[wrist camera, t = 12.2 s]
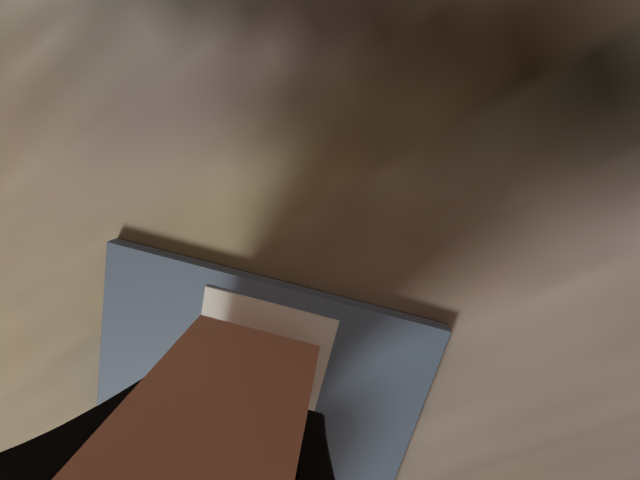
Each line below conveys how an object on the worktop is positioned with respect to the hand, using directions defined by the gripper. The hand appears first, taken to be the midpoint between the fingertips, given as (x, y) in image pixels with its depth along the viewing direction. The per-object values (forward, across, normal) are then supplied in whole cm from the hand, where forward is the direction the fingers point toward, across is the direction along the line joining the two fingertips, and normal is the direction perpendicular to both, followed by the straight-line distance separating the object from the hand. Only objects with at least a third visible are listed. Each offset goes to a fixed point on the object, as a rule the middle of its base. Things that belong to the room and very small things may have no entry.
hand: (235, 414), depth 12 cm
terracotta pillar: (+2, 0, 0) cm, 2 cm away
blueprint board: (+4, 0, +4) cm, 6 cm away
